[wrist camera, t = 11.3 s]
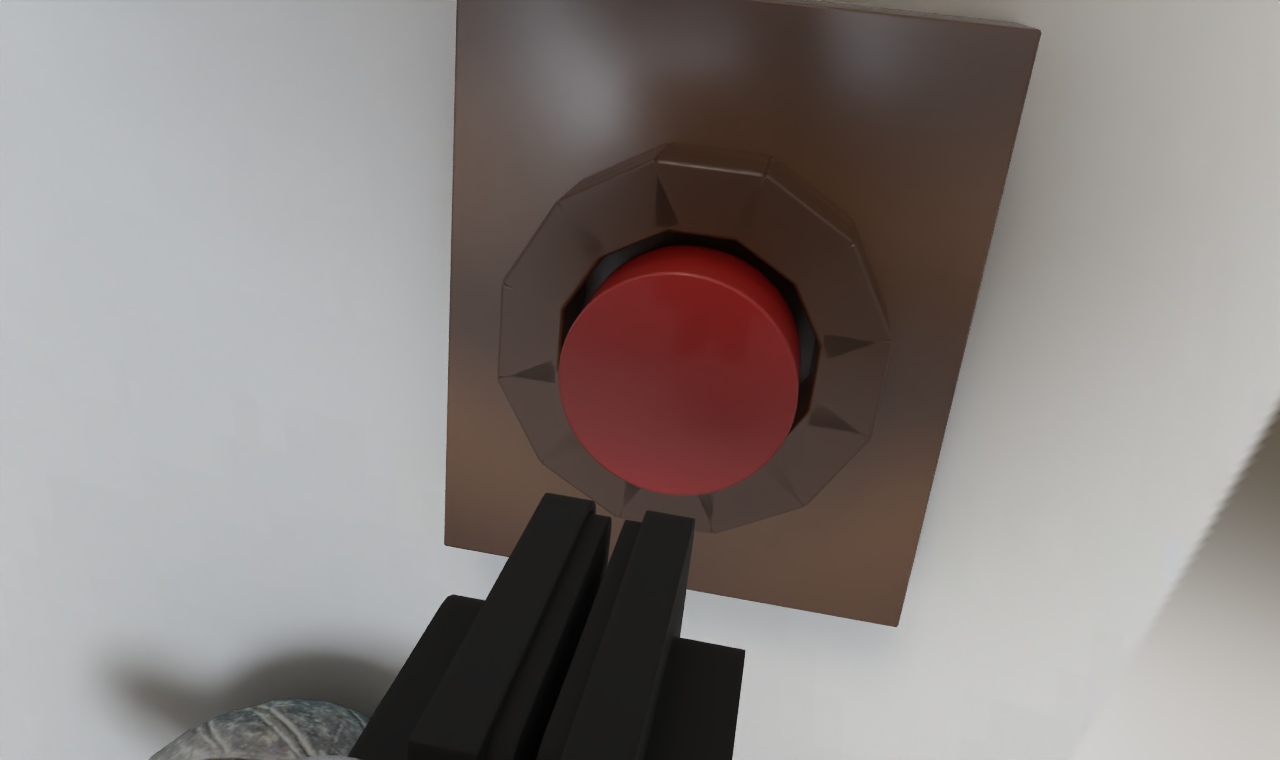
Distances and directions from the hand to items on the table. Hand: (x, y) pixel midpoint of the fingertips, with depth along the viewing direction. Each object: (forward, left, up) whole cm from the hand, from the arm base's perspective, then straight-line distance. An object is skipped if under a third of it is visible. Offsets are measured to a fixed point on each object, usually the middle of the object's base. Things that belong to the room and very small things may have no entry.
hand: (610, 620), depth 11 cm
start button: (0, 0, -8) cm, 8 cm away
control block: (0, 0, -11) cm, 11 cm away
